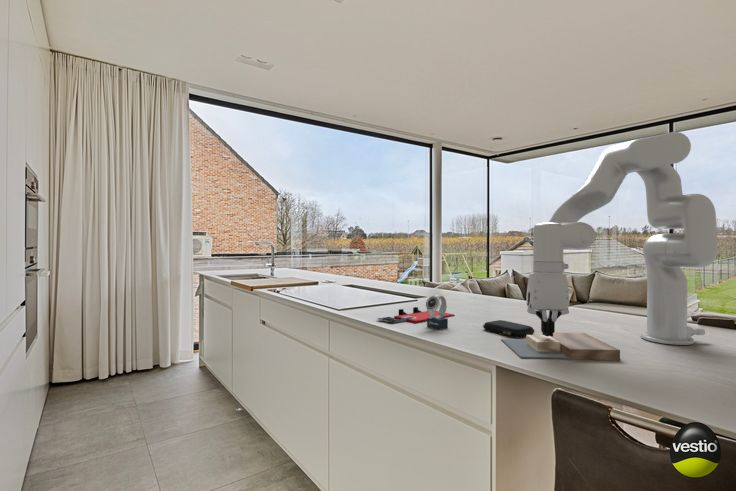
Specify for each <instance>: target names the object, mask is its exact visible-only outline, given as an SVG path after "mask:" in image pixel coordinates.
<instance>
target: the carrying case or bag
mask: <svg viewBox="0 0 736 491" xmlns="http://www.w3.org/2000/svg"><path fill="white" fill-rule="evenodd" d="M482 328H483V329H484V330H485V331H487V332H490V333H494V334H499V335H503V336H507V337H510V338H515V339H519V338H524V337H525V338H526V335H534V334H535V329H534V328H533V326H530V325H526V324H522V323H517V322H512V321H507V320H504V319H503V320H501V319H499V320H498V319H497V320H491V321H486V322H485V323H484V324H483V325H482Z"/></svg>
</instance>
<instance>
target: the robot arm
mask: <svg viewBox="0 0 736 491" xmlns="http://www.w3.org/2000/svg"><path fill="white" fill-rule="evenodd" d="M691 149H692V143H691V140H690V139H689V137H688V136H687V135H686V134H685V133H682V132H679V131H671V132H667V133H662V134H659V135H653V136H649V137H644V138H643V137H641V138H638V139H633V140H630V141H626V142H624V143H623V142H621V143H620V144H616V145H612V146H610V147H608V148H606V149H605V150H603V151H602V152H601V154H600V155H599V157H598V159H597V160H596V162H595V163H594V166H593V167H592V169H591V171H590V172H589V174H588V176H587V178H586V179H585V180H584V182H583V184H582V186H581V187H580V188H579V189H578V190H577V191H575V192H574V193H573V194H572V195H571V196H570V197H569V198H567V199H566V200H565V201H564V202H563V203H562V204H560V206H559V207H558V208H557V209H556V210H555V212H554V213H553V214H552V215H551V218H550V219H549V221H548V222H540V223H535V224H534V226H533V228H532V272H529V274H528V280H527V286H526V296H525V300H526V306H527V310H526V312H527V313H528V314H530V315H535V316H536V317H537V318H538V319H539V320H540V330H541V331H540V332H541V333H542V335H543V334H544V335H545V336H553V333H556V332H555V330H556V328H555V324H556V322H557V321H558V320H557V319H559V317H561V316H564V315H569V313H570V311H569V307H570V291H569V284H568V283H569V282H568V278H567V273H564V272H565V270H568V269H569V267H570V266H569V263H565V262H564V250H574V251H575V250H585V249H588V248H590V247H591V246H592V245H594V243H595V241H596V238H597V232H596V230H595V228H594V227H593V226H592V225H590V224H588V223H586V222H581V221H580V220H581V219H582V218H584V217H586V215H589V214H590V213H593V212H595V211H596V210H599V209H601V208H603V207H605V206H606V205H608V204H609V203H611V202H612V201H613V199H614V197H615V195H616V194H617V192H618V190H619V189H620V187H621V186H622V183H623V182H624V180H625V179H626V177H627V176H628V175H629V174H631V173H637V175H639V176H640V178H641V179H642V182H643V183H644V186H645V196H646V214H647V220H648V224H649V225H650V226H651V227H652V228H654V229H660V230H678V229H680V230H681V229H682V230H683V233H679V232H678V233H674V232H673V233H659V234H654V235H652V236H650V237H648V238H647V239H646V240H645V242H644V244H643V246H642V247H643V248H642V253H643V259H644V263H645V269H646V293H647V294H646V331H643V332H641V333H640V338H641V339H643V340H646V341H648V342H653V343H659V344H665V345H674V346H675V345H676V346H689V345H690V346H691V345H693V344H694V343H695V338H693V336H695V335H696V336H704V335H706V331H705V329H704V328H696V327H695V328H693V327H692V326H689V325H688V280H687V276H686V275H685V273H684V271H683V270H682V268H681V267H683V268H706V267H709V266H710V265H712V264H713V263H714V262H715V260H716V259H717V254H718V234H717V228H718V227H717V213H716V207H715V204H714V203H713V202H712V200H711V199H710V198H709V197H708V196H706V195H705V194H701V193H688V194H684V193H683V187H682V186H683V184H682V179H681V176H680V174H679V173H678V171H677V169H675V168H674V167H673V166H672V165H674V164H678V163H680V162H683V161H684V160H685V159H687V157H688V156H689V154H690V153H691ZM547 311H548V312H547ZM547 313H548V314H547Z"/></svg>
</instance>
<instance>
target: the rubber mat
mask: <svg viewBox="0 0 736 491" xmlns="http://www.w3.org/2000/svg"><path fill="white" fill-rule="evenodd" d="M500 340H501V342H502V343H504V344H505V346H506V347H508V348H509V349H510V350H511V351H513V353H514V354H516V355H517V357H519V358H520V359H538V360H539V359H540V360H541V359H542V360H543V359H544V360H545V359H546V360H571V359H570V357H569V356H567V355H565V354H564V353H562V352H561V351H560V352H537V351H536V350H534V349H533V348H532V347H530V346H529V345H527V344H526V338H524V339H522V338H521V339H519V338H500Z"/></svg>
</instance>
